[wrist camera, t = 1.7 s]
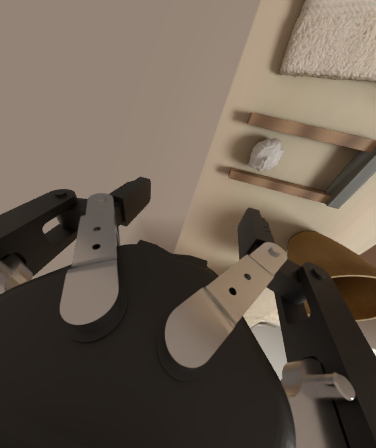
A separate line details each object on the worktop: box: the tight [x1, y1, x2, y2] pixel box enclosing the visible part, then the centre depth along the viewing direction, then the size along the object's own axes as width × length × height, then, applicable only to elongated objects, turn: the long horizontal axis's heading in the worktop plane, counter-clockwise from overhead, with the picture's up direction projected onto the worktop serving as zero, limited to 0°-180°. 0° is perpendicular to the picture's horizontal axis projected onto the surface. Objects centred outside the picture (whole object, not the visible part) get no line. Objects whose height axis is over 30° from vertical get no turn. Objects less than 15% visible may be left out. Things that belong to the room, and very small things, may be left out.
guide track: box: [229, 113, 376, 209], centre depth 26 cm, size 22×11×4 cm, turn 80°
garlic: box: [249, 138, 283, 171], centre depth 26 cm, size 6×5×5 cm
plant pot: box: [287, 231, 376, 321], centre depth 31 cm, size 15×15×16 cm
